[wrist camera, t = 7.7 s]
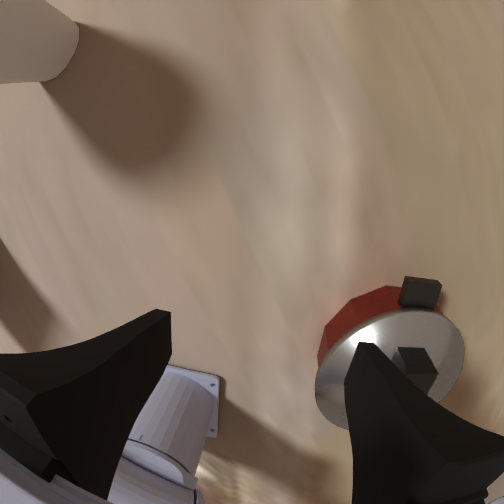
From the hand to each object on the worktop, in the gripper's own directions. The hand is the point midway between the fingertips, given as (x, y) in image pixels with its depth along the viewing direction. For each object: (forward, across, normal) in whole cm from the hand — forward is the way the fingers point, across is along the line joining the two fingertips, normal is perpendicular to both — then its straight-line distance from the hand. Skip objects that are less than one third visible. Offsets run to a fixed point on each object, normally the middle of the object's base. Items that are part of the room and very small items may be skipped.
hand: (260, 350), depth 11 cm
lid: (+7, -10, +6) cm, 14 cm away
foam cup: (+11, +22, -16) cm, 29 cm away
